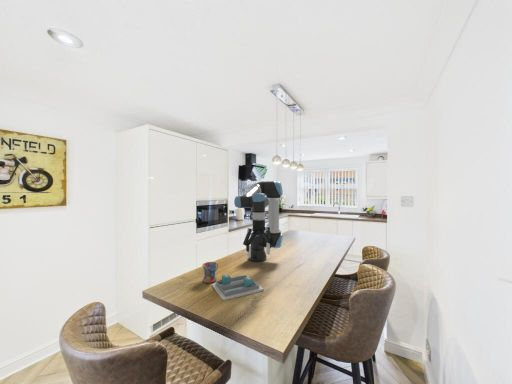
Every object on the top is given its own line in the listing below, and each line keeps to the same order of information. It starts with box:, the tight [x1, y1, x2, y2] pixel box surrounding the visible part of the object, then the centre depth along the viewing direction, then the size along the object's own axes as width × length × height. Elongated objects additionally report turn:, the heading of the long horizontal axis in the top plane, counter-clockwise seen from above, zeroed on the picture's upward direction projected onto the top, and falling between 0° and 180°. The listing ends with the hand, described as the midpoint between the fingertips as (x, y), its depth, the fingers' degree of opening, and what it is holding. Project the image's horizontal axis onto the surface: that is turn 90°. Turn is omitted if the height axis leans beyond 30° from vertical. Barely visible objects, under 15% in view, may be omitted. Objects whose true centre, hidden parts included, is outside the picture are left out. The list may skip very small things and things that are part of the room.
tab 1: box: [221, 273, 232, 285], centre depth 127 cm, size 4×4×6 cm
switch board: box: [211, 274, 264, 302], centre depth 125 cm, size 24×20×3 cm
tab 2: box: [243, 275, 254, 287], centre depth 124 cm, size 4×4×6 cm
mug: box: [201, 261, 219, 284], centre depth 136 cm, size 12×9×11 cm
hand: (258, 255), depth 127 cm, fingers open, 12 cm apart
